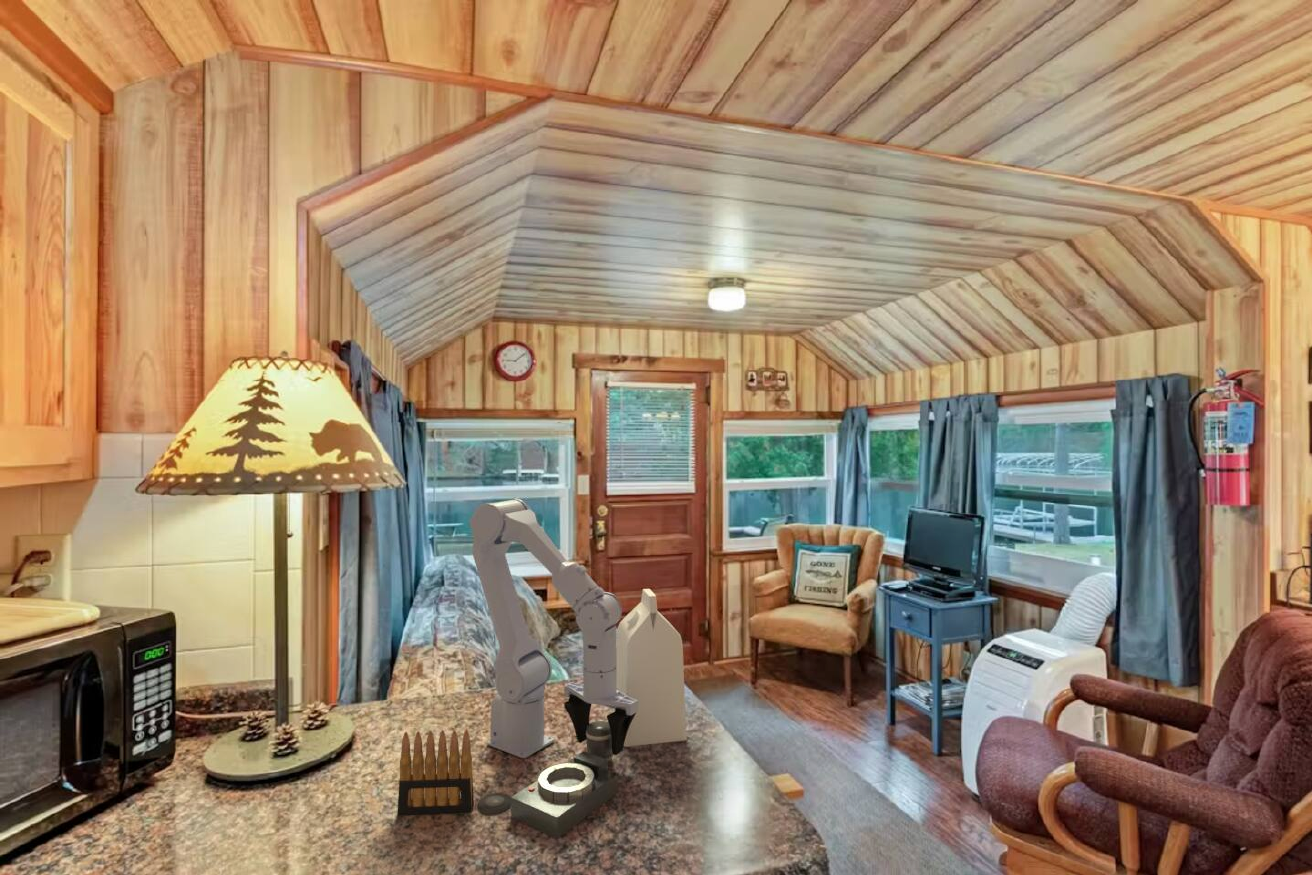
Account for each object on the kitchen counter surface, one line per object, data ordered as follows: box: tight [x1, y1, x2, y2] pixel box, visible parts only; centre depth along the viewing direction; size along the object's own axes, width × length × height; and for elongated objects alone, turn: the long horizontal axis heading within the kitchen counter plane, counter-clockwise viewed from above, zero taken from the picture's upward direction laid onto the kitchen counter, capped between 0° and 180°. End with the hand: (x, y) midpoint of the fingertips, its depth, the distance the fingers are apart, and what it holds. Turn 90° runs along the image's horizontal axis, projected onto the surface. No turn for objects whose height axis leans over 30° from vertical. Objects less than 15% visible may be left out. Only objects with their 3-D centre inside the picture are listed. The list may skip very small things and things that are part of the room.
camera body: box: [510, 750, 619, 840], centre depth 99 cm, size 9×14×5 cm, turn 146°
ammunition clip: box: [397, 729, 475, 817], centre depth 97 cm, size 11×2×12 cm, turn 95°
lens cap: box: [477, 792, 512, 815], centre depth 99 cm, size 5×5×1 cm
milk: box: [613, 588, 688, 748], centre depth 124 cm, size 12×12×26 cm
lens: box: [586, 720, 614, 767], centre depth 112 cm, size 5×5×6 cm
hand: (599, 746), depth 112 cm, fingers open, 7 cm apart
